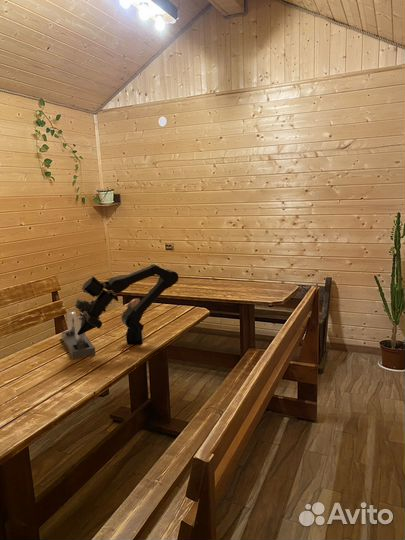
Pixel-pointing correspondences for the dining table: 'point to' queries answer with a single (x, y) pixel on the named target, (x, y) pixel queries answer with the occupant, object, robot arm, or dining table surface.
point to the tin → (133, 302)
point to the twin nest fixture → (72, 346)
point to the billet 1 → (71, 322)
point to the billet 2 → (81, 338)
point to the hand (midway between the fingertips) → (76, 333)
